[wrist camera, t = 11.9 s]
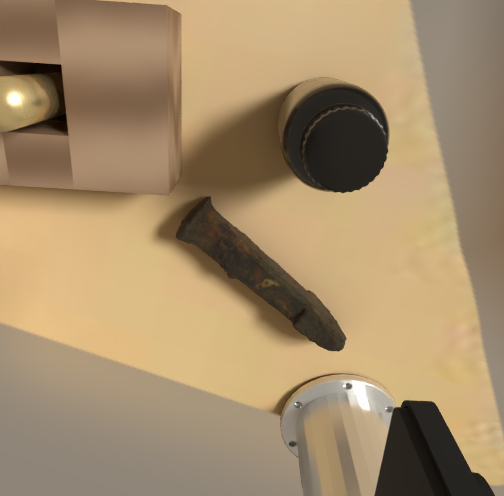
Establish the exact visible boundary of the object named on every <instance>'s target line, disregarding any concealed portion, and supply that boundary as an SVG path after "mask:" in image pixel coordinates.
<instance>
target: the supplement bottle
mask: <svg viewBox="0 0 504 496" xmlns="http://www.w3.org/2000/svg"><path fill="white" fill-rule="evenodd" d="M278 133H279V138H280V143H281V147H282V152H283V156H284V158H285V161H286V163H287V165H288V167H289V169H290V170H291V172H292V173H293V174H294V175H295V176H296V178H297V179H299V180H300V181H301V182H302V183H304V184H305V185H307V186H309V187H311V188H313V189H316V190H320V191H325V192H341V193H345V192H352V191H354V190H360V189H361V188H362V187H364V186H367V185H368V184H369V182H372V181H373V180H374V179H375V177H376V176H377V175H379V173H380V170H381V169H382V168H383V167H384V162H385V161H386V159H387V156H386V155H387V153H388V144H389V124H388V120H387V117H386V114H385V112H384V110H383V108H382V106H381V105H380V103H379V102H378V101H377V100H376V99H375V98H374V97H373V96H372V95H371V94H370V93H369V92H367V91H366V90H364V89H362V88H360V87H358V86H355V85H353V84H350V83H347V82H344V81H341V80H338V79H334V78H328V77H319V78H313V79H310V80H307V81H305V82H303V83H301V84H299V85H298V86H297V87H295V88H294V89H293V90H292V91H291V92H290V93H289V94H288V96H287V97H286V98H285V100H284V102H283V104H282V106H281V109H280V112H279V116H278Z"/></svg>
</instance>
